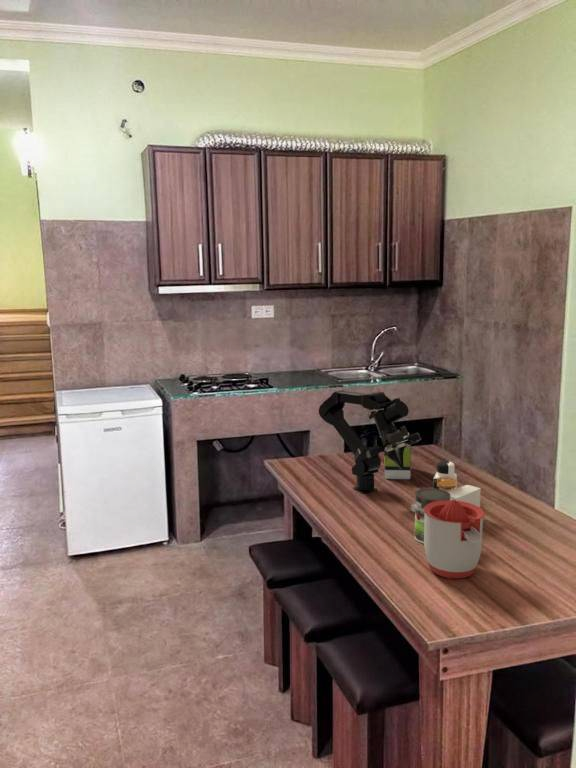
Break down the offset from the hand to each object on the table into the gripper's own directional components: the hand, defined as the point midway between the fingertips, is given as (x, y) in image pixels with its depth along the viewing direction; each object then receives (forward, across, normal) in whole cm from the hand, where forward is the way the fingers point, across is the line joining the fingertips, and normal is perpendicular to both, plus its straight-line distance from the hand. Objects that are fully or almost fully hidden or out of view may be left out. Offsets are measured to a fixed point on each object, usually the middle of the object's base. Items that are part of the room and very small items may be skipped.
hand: (402, 469), depth 229 cm
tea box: (-1, +7, +34) cm, 35 cm away
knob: (+17, +7, -8) cm, 20 cm away
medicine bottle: (+13, +14, +11) cm, 22 cm away
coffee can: (+24, -6, -21) cm, 32 cm away
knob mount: (+19, +5, -6) cm, 20 cm away
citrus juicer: (+33, -9, -41) cm, 53 cm away
